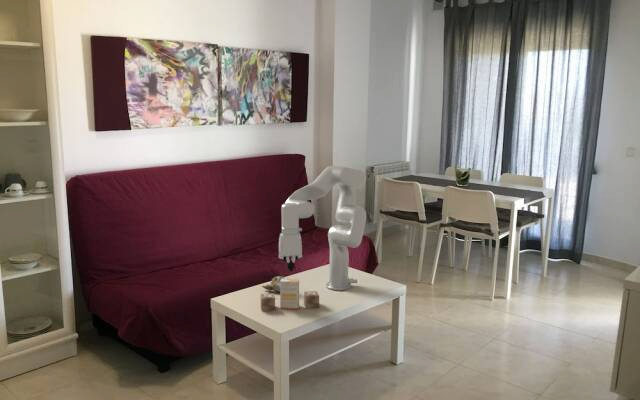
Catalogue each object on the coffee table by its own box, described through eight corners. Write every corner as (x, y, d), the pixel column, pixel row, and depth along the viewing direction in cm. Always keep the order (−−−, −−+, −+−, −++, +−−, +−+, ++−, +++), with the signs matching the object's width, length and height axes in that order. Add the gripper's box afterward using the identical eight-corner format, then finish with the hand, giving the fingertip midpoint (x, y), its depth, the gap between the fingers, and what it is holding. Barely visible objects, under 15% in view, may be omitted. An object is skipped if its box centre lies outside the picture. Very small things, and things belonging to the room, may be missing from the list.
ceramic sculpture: (282, 279, 258) (260, 275, 268) (283, 297, 259) (261, 292, 269) (297, 274, 266) (275, 270, 276) (298, 291, 268) (276, 286, 277)
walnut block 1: (273, 305, 249) (273, 292, 248) (275, 310, 244) (275, 297, 242) (260, 306, 248) (260, 293, 247) (261, 311, 242) (261, 298, 241)
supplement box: (299, 305, 250) (299, 278, 247) (297, 309, 245) (298, 281, 243) (281, 304, 250) (281, 277, 248) (279, 308, 246) (279, 280, 243)
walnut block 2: (316, 303, 253) (316, 290, 252) (319, 308, 247) (319, 295, 246) (303, 304, 252) (304, 291, 251) (306, 308, 246) (306, 295, 245)
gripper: (305, 228, 246) (305, 266, 250) (272, 229, 244) (273, 268, 247) (308, 232, 239) (308, 272, 243) (274, 233, 236) (274, 274, 240)
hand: (290, 270), depth 245 cm, fingers closed
